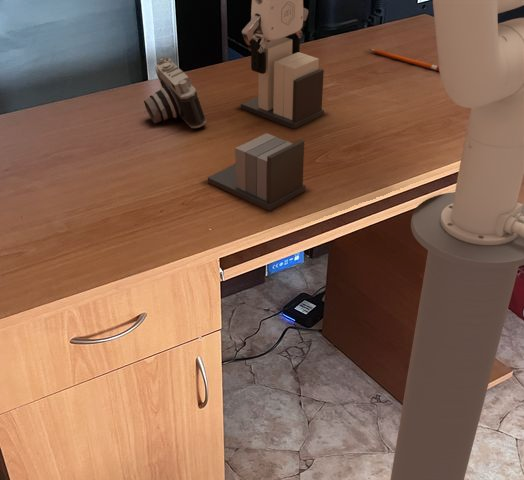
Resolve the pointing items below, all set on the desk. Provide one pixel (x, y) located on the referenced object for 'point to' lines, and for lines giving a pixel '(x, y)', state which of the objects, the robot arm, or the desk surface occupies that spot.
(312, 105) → the dark bookend stand
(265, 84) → the white book
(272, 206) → the grey rack
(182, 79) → the camera
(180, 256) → the desk surface
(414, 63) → the pencil
